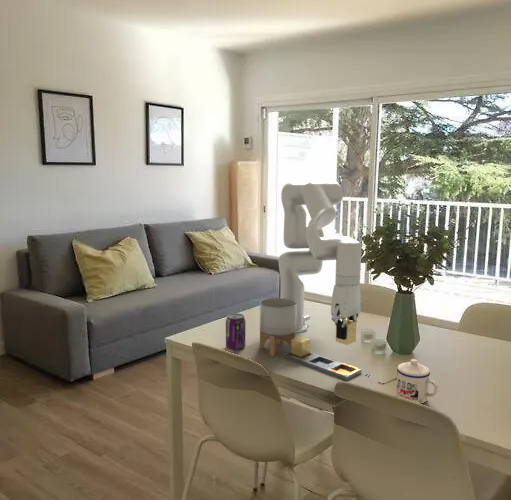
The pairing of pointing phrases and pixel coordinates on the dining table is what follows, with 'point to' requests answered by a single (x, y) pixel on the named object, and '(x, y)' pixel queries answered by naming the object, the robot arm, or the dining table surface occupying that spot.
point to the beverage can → (235, 331)
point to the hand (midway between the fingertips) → (345, 336)
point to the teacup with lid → (414, 382)
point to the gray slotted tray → (327, 365)
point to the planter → (277, 322)
